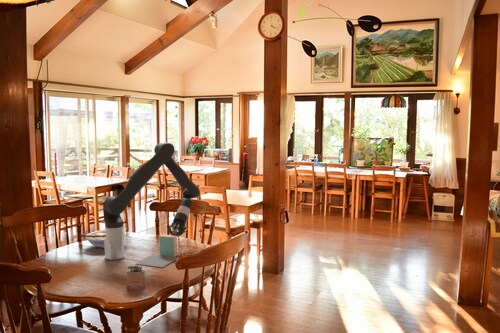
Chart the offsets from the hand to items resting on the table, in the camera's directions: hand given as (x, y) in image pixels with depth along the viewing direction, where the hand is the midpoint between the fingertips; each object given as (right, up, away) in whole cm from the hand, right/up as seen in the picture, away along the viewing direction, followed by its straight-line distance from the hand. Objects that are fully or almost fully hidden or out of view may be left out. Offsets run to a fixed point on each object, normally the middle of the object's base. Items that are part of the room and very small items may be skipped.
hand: (171, 241), depth 226 cm
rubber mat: (-5, -8, -13) cm, 16 cm away
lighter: (-7, -12, -47) cm, 49 cm away
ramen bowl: (-41, -6, +13) cm, 44 cm away
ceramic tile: (-1, -7, -3) cm, 8 cm away
